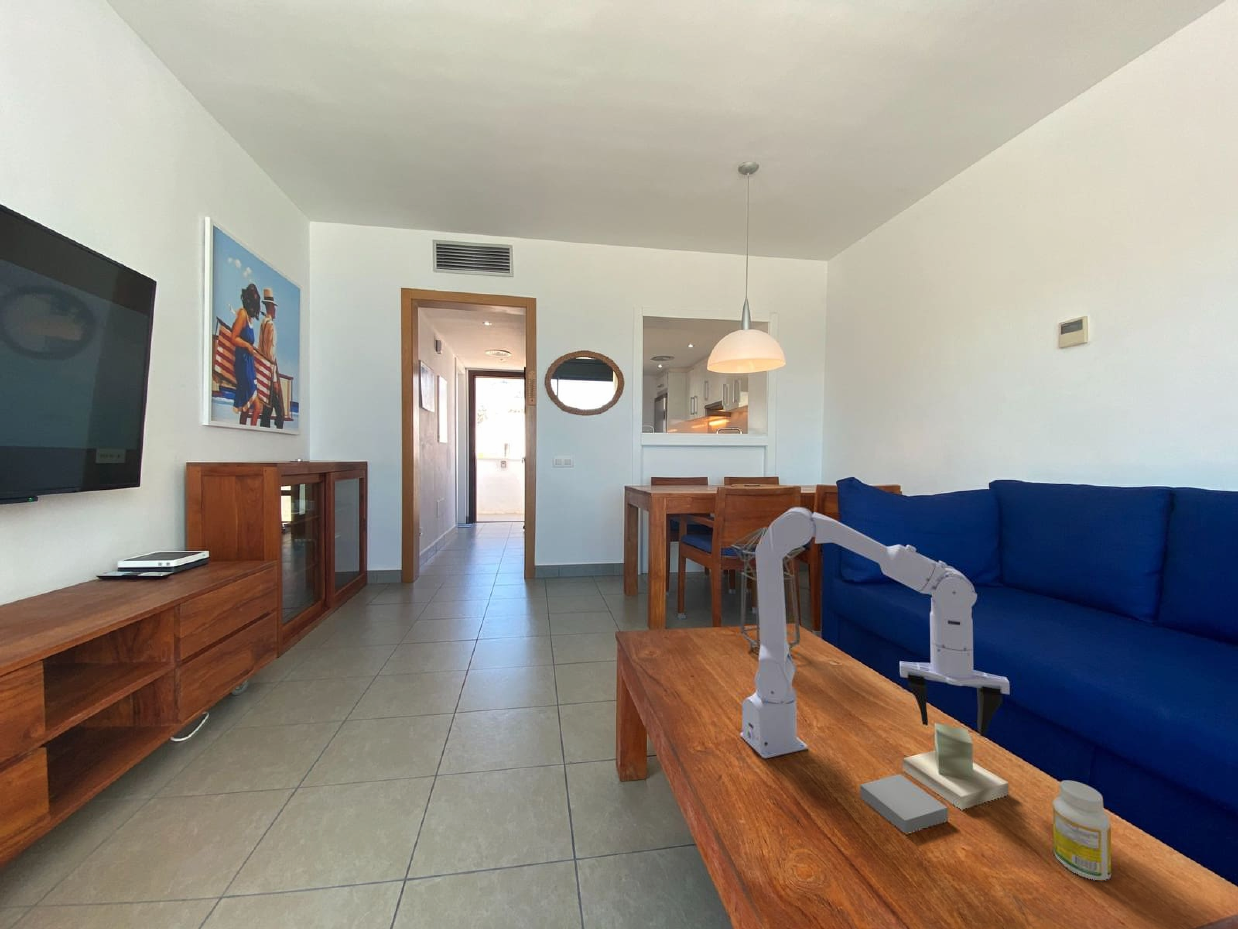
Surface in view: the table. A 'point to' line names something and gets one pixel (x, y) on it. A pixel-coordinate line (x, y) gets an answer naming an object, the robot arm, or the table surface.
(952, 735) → the sage green block
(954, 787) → the pale ash block
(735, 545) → the geometric lantern
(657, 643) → the table surface
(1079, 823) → the supplement bottle
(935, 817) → the slate grey block
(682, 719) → the table surface
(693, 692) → the table surface
